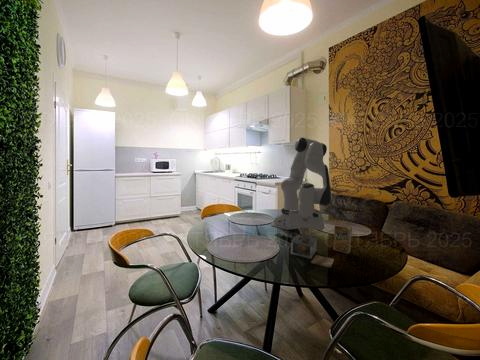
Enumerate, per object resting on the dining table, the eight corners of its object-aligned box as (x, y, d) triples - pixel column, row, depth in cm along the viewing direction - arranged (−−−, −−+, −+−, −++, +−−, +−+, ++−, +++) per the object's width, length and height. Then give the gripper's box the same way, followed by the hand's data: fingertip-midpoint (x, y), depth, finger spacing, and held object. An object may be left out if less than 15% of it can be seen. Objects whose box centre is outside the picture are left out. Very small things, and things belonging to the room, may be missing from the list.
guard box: (290, 253, 134) (291, 240, 133) (296, 246, 145) (297, 234, 144) (311, 258, 128) (312, 245, 127) (316, 250, 138) (317, 238, 137)
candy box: (332, 250, 140) (334, 225, 138) (335, 247, 143) (336, 224, 141) (348, 254, 134) (350, 229, 132) (350, 252, 138) (352, 227, 136)
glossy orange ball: (299, 249, 135) (299, 244, 135) (301, 246, 139) (301, 241, 139) (306, 250, 133) (306, 245, 133) (308, 248, 137) (308, 243, 136)
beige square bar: (301, 244, 135) (302, 217, 133) (303, 242, 138) (304, 216, 136) (306, 245, 134) (308, 218, 132) (308, 243, 136) (309, 217, 134)
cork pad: (311, 262, 123) (311, 261, 123) (315, 255, 132) (315, 254, 132) (330, 267, 118) (330, 266, 118) (334, 260, 127) (334, 259, 127)
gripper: (287, 210, 136) (286, 233, 137) (323, 215, 126) (322, 239, 127) (290, 208, 141) (289, 230, 143) (325, 212, 131) (324, 236, 133)
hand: (305, 234), depth 135 cm, fingers closed on beige square bar, 3 cm apart
